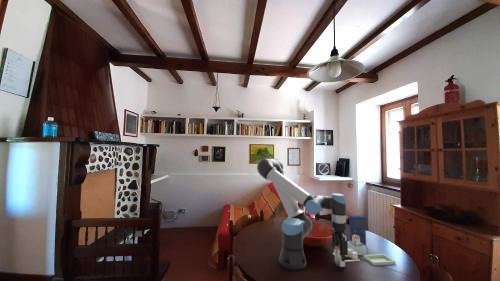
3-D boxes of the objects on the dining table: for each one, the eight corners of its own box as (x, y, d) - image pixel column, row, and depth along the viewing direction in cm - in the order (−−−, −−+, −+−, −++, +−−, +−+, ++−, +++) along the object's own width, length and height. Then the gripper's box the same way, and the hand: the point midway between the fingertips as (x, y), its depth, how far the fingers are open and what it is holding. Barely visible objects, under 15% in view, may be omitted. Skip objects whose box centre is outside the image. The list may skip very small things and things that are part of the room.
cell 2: (355, 253, 128) (354, 236, 129) (351, 250, 133) (350, 233, 133) (361, 253, 129) (361, 236, 130) (357, 250, 133) (357, 233, 134)
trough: (373, 266, 114) (373, 262, 115) (363, 258, 123) (363, 255, 123) (395, 265, 116) (395, 261, 116) (384, 257, 125) (383, 254, 125)
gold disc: (344, 257, 121) (344, 254, 122) (341, 254, 125) (341, 251, 125) (350, 257, 122) (350, 254, 122) (346, 254, 125) (346, 251, 126)
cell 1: (338, 267, 113) (337, 247, 114) (334, 263, 117) (333, 244, 118) (345, 266, 114) (345, 247, 114) (341, 262, 118) (340, 243, 119)
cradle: (341, 262, 118) (341, 254, 118) (332, 254, 128) (332, 247, 128) (360, 262, 119) (359, 253, 120) (349, 254, 129) (349, 246, 129)
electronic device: (352, 247, 139) (352, 216, 141) (349, 243, 144) (348, 214, 146) (366, 247, 139) (366, 217, 140) (362, 244, 144) (362, 215, 145)
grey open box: (354, 256, 126) (354, 246, 127) (346, 250, 134) (346, 241, 135) (366, 255, 127) (366, 246, 127) (358, 249, 135) (358, 240, 136)
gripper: (354, 226, 109) (355, 272, 107) (336, 216, 126) (337, 256, 125) (341, 227, 108) (342, 273, 106) (325, 217, 126) (325, 256, 124)
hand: (339, 263), depth 116 cm, fingers open, 4 cm apart
